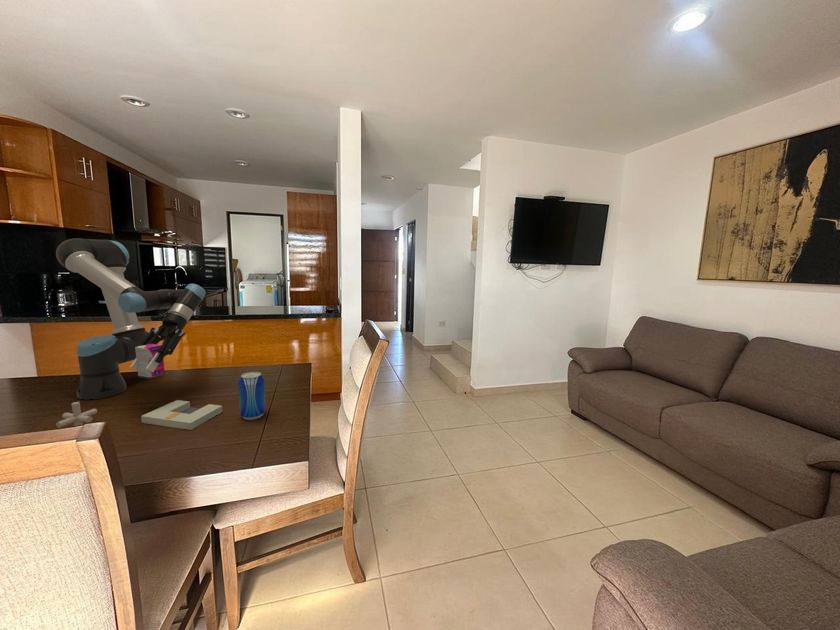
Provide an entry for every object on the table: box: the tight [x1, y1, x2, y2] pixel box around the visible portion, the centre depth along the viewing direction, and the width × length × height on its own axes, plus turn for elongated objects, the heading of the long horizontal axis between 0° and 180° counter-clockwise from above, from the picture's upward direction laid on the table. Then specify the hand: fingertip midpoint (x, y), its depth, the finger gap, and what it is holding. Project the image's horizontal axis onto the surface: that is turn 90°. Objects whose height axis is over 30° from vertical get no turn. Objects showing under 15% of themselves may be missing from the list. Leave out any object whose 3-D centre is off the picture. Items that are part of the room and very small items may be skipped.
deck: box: [140, 399, 223, 431], centre depth 121 cm, size 14×20×3 cm
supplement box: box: [135, 344, 166, 379], centre depth 123 cm, size 6×6×12 cm
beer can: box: [238, 371, 266, 421], centre depth 123 cm, size 8×8×16 cm
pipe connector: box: [55, 401, 98, 429], centre depth 108 cm, size 10×10×10 cm
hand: (141, 369), depth 120 cm, fingers closed on supplement box, 6 cm apart
